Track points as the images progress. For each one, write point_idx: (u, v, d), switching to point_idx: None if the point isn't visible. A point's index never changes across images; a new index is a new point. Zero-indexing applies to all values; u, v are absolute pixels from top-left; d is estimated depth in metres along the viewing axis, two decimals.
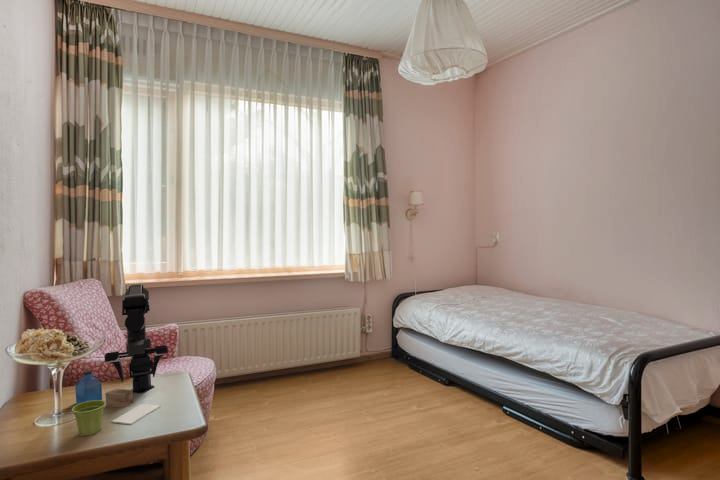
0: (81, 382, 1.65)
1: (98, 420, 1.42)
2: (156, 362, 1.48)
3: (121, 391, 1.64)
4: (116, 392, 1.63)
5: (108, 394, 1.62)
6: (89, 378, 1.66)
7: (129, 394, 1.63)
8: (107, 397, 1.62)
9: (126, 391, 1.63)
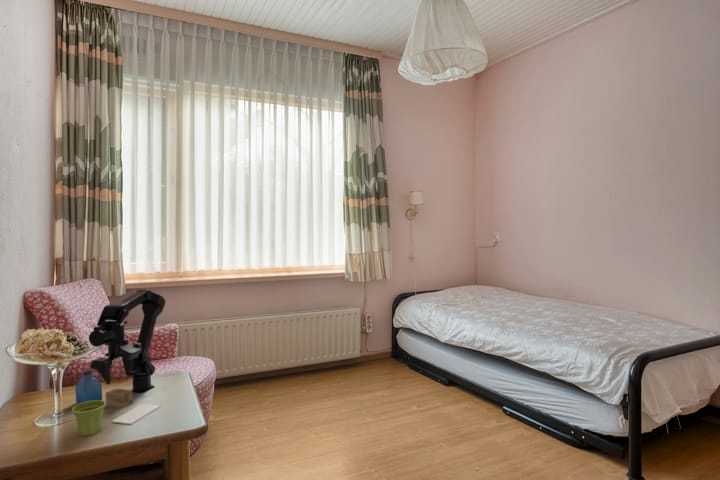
0: (81, 382, 1.65)
1: (98, 420, 1.42)
2: (132, 362, 1.68)
3: (121, 391, 1.63)
4: (116, 392, 1.63)
5: (108, 394, 1.62)
6: (89, 378, 1.66)
7: (129, 394, 1.63)
8: (107, 397, 1.63)
9: (126, 392, 1.63)
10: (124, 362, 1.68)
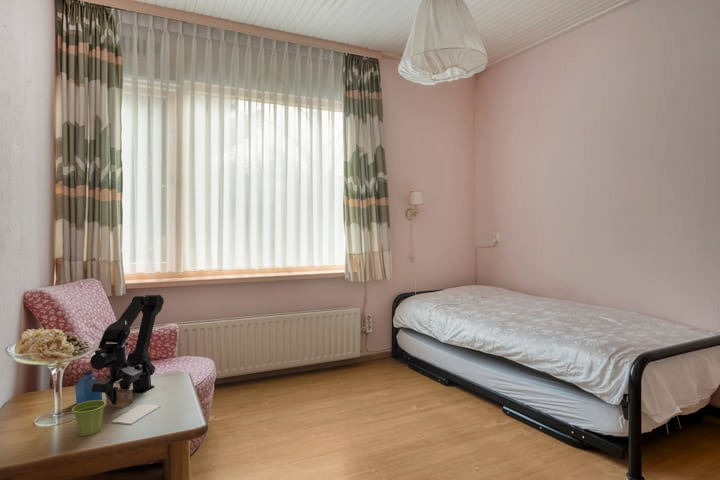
0: (81, 382, 1.65)
1: (98, 420, 1.42)
2: (129, 385, 1.67)
3: (121, 391, 1.63)
4: (116, 392, 1.63)
5: None
6: (89, 378, 1.66)
7: (128, 394, 1.63)
8: None
9: (125, 391, 1.63)
10: (121, 385, 1.67)
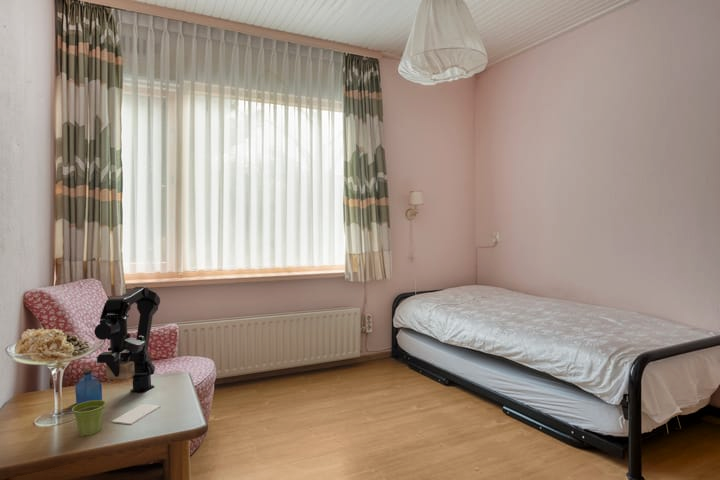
0: (81, 382, 1.65)
1: (98, 420, 1.42)
2: (129, 358, 1.65)
3: (122, 363, 1.61)
4: None
5: None
6: (89, 378, 1.66)
7: (131, 366, 1.61)
8: (107, 369, 1.59)
9: (128, 363, 1.61)
10: None
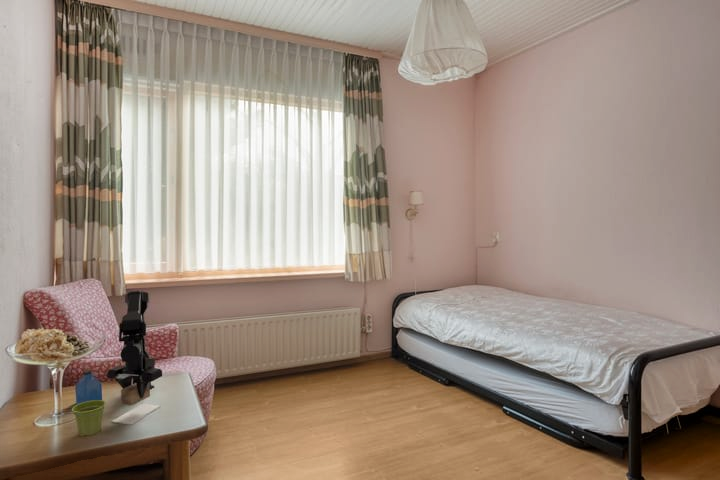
0: (81, 382, 1.65)
1: (98, 420, 1.42)
2: None
3: (136, 385, 1.55)
4: (136, 386, 1.54)
5: (134, 390, 1.51)
6: (89, 378, 1.66)
7: None
8: (132, 394, 1.50)
9: None
10: (125, 384, 1.54)
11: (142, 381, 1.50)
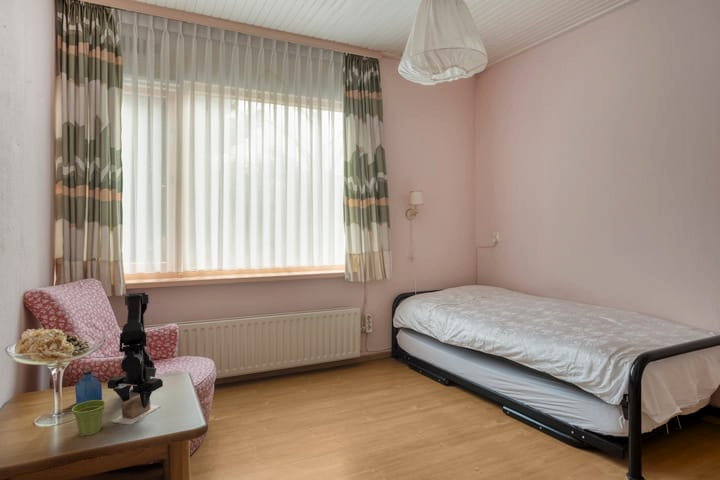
0: (81, 382, 1.65)
1: (98, 420, 1.42)
2: None
3: (137, 398, 1.55)
4: (137, 400, 1.54)
5: (135, 404, 1.51)
6: (89, 378, 1.66)
7: None
8: (133, 408, 1.51)
9: None
10: (123, 394, 1.54)
11: None
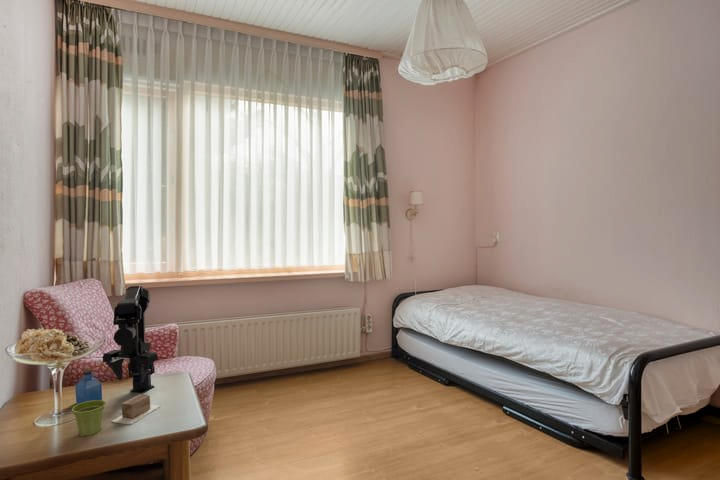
0: (81, 382, 1.65)
1: (98, 420, 1.42)
2: None
3: (137, 398, 1.55)
4: (137, 400, 1.54)
5: (135, 404, 1.51)
6: (89, 378, 1.66)
7: None
8: (133, 408, 1.51)
9: (141, 395, 1.57)
10: (116, 368, 1.55)
11: None
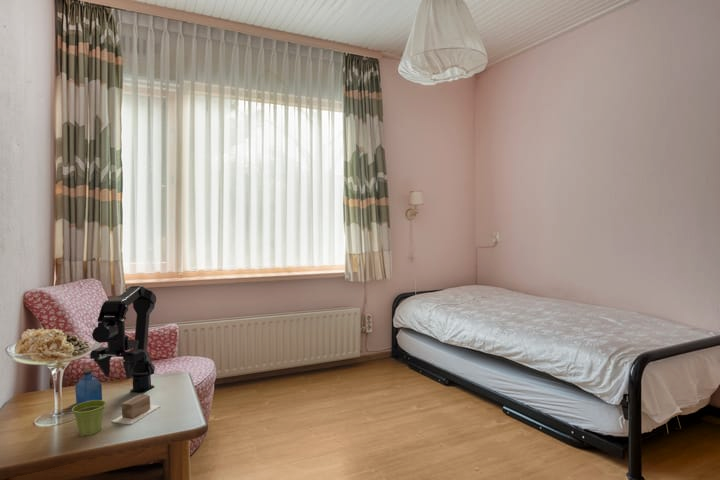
0: (81, 382, 1.65)
1: (98, 420, 1.42)
2: None
3: (137, 398, 1.55)
4: (137, 400, 1.54)
5: (135, 404, 1.51)
6: (89, 378, 1.66)
7: None
8: (133, 408, 1.51)
9: (141, 395, 1.57)
10: (103, 364, 1.58)
11: (129, 361, 1.54)
